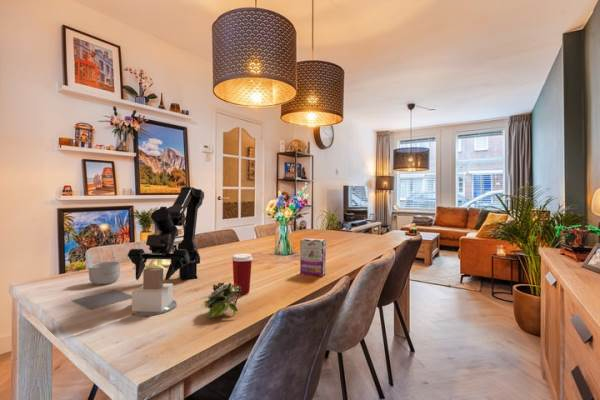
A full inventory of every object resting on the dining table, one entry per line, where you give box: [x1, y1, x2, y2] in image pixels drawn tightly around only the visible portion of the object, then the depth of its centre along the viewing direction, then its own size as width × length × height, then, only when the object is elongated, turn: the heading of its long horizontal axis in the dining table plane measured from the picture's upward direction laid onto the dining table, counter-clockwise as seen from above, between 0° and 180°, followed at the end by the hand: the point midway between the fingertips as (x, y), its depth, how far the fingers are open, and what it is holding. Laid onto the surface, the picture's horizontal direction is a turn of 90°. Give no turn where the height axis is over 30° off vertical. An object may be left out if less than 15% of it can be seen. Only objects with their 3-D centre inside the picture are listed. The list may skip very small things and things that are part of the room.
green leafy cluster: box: [204, 282, 242, 320], centre depth 94 cm, size 11×11×12 cm
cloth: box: [133, 259, 171, 271], centre depth 149 cm, size 22×19×6 cm
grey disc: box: [131, 300, 178, 317], centre depth 98 cm, size 14×14×4 cm
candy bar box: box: [299, 237, 327, 277], centre depth 141 cm, size 11×5×16 cm, turn 69°
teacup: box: [87, 260, 121, 286], centre depth 122 cm, size 14×11×8 cm
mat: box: [71, 289, 132, 311], centre depth 103 cm, size 14×14×1 cm
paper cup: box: [231, 253, 253, 296], centre depth 113 cm, size 8×8×14 cm
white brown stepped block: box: [131, 268, 174, 312], centre depth 97 cm, size 9×9×12 cm
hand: (151, 279), depth 96 cm, fingers open, 9 cm apart
